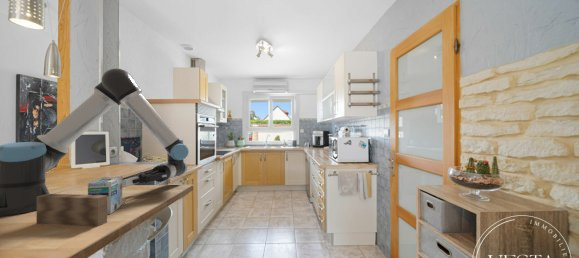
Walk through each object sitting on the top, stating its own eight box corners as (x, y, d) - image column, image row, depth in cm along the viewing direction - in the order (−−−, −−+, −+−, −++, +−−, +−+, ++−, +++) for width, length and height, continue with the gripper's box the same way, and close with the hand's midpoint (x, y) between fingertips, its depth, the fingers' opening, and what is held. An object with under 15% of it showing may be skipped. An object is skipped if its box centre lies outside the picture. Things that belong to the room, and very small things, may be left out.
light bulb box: (111, 214, 77) (111, 181, 77) (86, 216, 75) (86, 183, 75) (123, 204, 87) (123, 175, 88) (101, 206, 85) (101, 177, 85)
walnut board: (36, 223, 69) (36, 196, 69) (47, 219, 72) (48, 193, 72) (97, 226, 67) (98, 198, 67) (107, 222, 70) (107, 195, 70)
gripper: (176, 180, 111) (140, 193, 88) (151, 180, 113) (108, 193, 89) (176, 164, 111) (139, 173, 88) (150, 164, 113) (108, 173, 89)
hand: (124, 183), depth 88 cm, fingers closed
